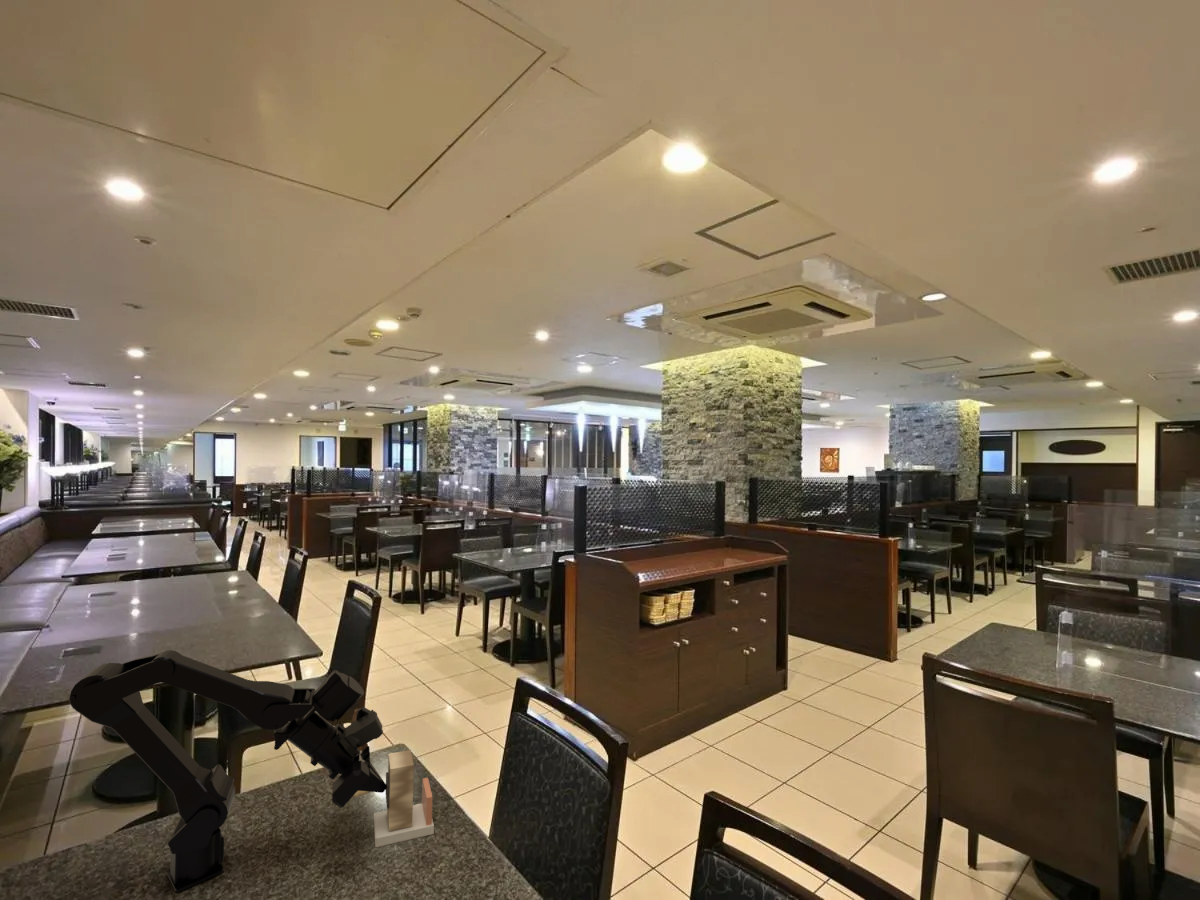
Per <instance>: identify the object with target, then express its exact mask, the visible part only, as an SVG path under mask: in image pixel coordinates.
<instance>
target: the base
mask: <svg viewBox="0 0 1200 900" xmlns="http://www.w3.org/2000/svg"><path fill="white" fill-rule="evenodd" d="M421 789H422V790H421V792H422V793H421V794H422V795H421V796H422V797H421V803H417V804H413V814H412V826H410V827H406V828H401V829H397V830H392V831H389V826H388V815H387V810H384V811H379V812H374V813H373V829H374V833H373V834H374V847H375V848H377V847H379V848H380V847H383V846H389V845H391V844H395V843H400V842H404V841H405V842H406V841H409V840H414V839H417V838H423V837H425V836H426V837H427V836H430V835H434V833H435V832H434V831H435V824H434V820H433V793H432V789H431V785H430V781H429V777H424V778H422V788H421Z"/></svg>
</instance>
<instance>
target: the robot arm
mask: <svg viewBox="0 0 1200 900" xmlns="http://www.w3.org/2000/svg"><path fill="white" fill-rule="evenodd" d="M159 683H162V684H165V685H169V686H172V687H175V688H177V689H180V690H183V691H185V692H189V693H191V694H195V695H196V696H200V697H203V698H205V699H208V700H211V701H214V702H217V703H219V704H222V705H224V706H228V707H230V708H232V709H234V710H236V711H238V713H239V714H241V716H242V717H243V718H244V719H246V721H247V720H248V722H250V723H252V724H253V725H255V726H258V727H259V728H261V729H263V730H265V731H268V732H269V731H271V732H272V731H273V737H274V746H273V749H274V750H275V751H277V750H279V749H280V748H281V747H282V746H283V745H284V744H285V743H286V742H287V741H288V742H289V743H290V744H291V745H293V746H295V747H296V748H297V749H299V750H300V751H301V752H303V753H304V754H306V756H308V757H309V758H310V765H312V766H314V767H317V765H320V766H321V767H322V768H324V769H326V771H328V778H330V779H331V780H334V779H335V778H336V777H337V776H338V775H339V776H338V777H337V778H336V779H335V781H334V782H333V783H332V793H331V795H332V796H331V803H333V804H334V805H335V806H337V807H338V808H340V809H342V808H344V807H345V806H346V804H348V803H349V801H350V800H351V799H352V798H354V797H353V795H354V794H355V793H356V792H357V791H369V792H368V793H370V792H372V793H380V794H381V793H384V792H386V789H387V786H386V781H384V780H383V778H382V776H381V775H380V774H379V772H378V771H377V770H376V768H375V767H374V765H373V763H372V762H371V752H370V751H371V750H370V746H369V745H367V744H368V743H369V742H372V741H373V740H377V739H379V738H380V737H382V735H383V734H384V731H383V724H382V721H381V719H380V718H379V716H378V713H377V712H376V710H374V709H371V710H370V709H368V708H367V707H364V706H362V707H360V708H358V709H359V710H357V711H356V721H355V722H354V721H352V720H351V721H352V724H351V723H350V724H349V725H348V726H344V725H342V724H338V723H336V725H333V724H332V723H330V721H331V722H335V720H336V721H337V720H340V719H342V717H343V716H344V715H345V714H346V713H347V712H348V711H349V710H350V709H351V708H352V707H353V706H354V705H356V703H357V702H358V701H359V700H360V699H361V697H363V696H364V694H365V691H364V689H363V687H362V686H361V685H360V684H359V682H358V681H357V680H356V679H355V678H354V677H352V676H350V675H347V674H345V673H343V672H340V671H338V670H337V669H334V670H333V671H332V672H330V674H329V675H328V677H326V680H324V681H323V683H321V685H319V687H318V688H316V689H315V688H314V687H313V688H310V687H309V688H305V687H304V688H302V687H301V688H299V687H298V688H296V687H295V688H293V687H292V686H290V685H289V684H285V683H280V682H275V681H270V680H252V679H246V678H244V677H241V676H239V675H236V674H233V673H230V672H227V671H225V670H223V669H220V668H218V667H215V666H211V665H210V664H209V665H208V664H206V663H204V662H201V661H199V660H196V659H193V658H190V657H188V656H186V655H182V654H181V653H180V652H179V651H176V650H172V649H170V650H164V651H162V652H160V653H157V654H153V655H149V656H144V657H143V656H142V657H138V658H135V659H132V660H129V661H125V662H123V663H119V662H117V663H116V662H108V663H103V664H100V665H98V666H97V667H95V668H94V669H93V670H91V671H90V672H89V673H88V674H86V675H85V676H84V677H82V678H81V679H80V680H79V681H78V682H77V683H76V684H74V685H73V688H71V691H70V695H69V698H68V702H69V705H70V707H71V708H72V709H73V710H74V711H76V712H77V713H78V714H80V715H82V716H83V717H84V718H85V719H87V720H89V721H90V722H92V723H94V724H97V725H101V726H104V727H106V728H110V729H112V730H113V731H114V732H115V733H116V734H117V735H118V736H119V737H120V738H121V739H122V741H123V742H125V744H126V745H127V746H128V747H129V748H130V749H131V750H132V751H133V752H134V753H135V754H136V755H137V757H138V758H140V760H141V761H142V762H143V763H144V764H145V765H146V766H147V767H148V768H149V769H150V771H152V772H153V773H154V775H155V776H156V777H158V778H159V780H160V781H161V782H162V783H163V784H164V785H165V786H166V787H167V788H168V790H170V791H171V793H172V795H173V796H174V801H175V804H176V805H175V806H176V808H177V812H178V815H179V816H180V817H179V820H178V822H177V824H176V825H175V828H174V830H173V832H172V835H171V836H170V838H169V840H168V842H167V845H168V847H169V850H170V863H169V864H170V866H169V867H170V868H169V869H168V870H167V871H166V875H167V877H168V879H169V881H170V883H171V886H172V887H173V889H174V892H175V893H179V892H182V891H185V890H187V889H189V888H191V887H193V886H195V885H198V884H200V883H202V882H204V881H206V880H208V879H211V878H213V877H215V876H218V875H221V874H222V873H223V872H224V867H223V865H222V863H223V862H224V859H225V858H224V857H225V836H224V835H223V833H221V832H222V830H221V827H222V826H223V825H224V824H225V822H226V820H227V819H228V816H229V813H230V810H231V807H232V805H233V801H234V800H235V799H234V797H235V795H236V788H235V785H234V781H235V778H234V777H232V776H229V775H228V774H227V773H226V771H225V770H224V768H223V766H222V765H221V764H219V763H218V764H216V766H214V768H212V769H209V768H206V767H203V766H201V765H200V764H198V762H197V761H196V760H195V759H194V758H193V757H192V756H191V754H190V753H189V752H188V751H187V750H186V749H185V748H184V747H183V745H182V744H180V742H179V741H178V740H177V739H176V738H175V737H174V736H173V735H172V734H171V733H170V732H169V731H168V730H167V728H166V727H164V725H163V724H162V722H160V721H159V719H157V718H156V717H155V715H154V714H153V713H152V712H151V711H150V710H149V709H148V708H147V707H146V706H145V703H144V701H143V698H142V695H141V691H142V690H144V689H147V688H149V687H151V686H154V685H156V684H159ZM365 745H367V746H366V747H365V748H364V749H363V750H362V751H361V750H359V749H358V748H359V747H361V746H362V747H363V746H365Z"/></svg>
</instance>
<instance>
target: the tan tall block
mask: <svg viewBox="0 0 1200 900" xmlns="http://www.w3.org/2000/svg"><path fill="white" fill-rule="evenodd" d="M387 763H388V764H387V765H388V766H387V768H388V769H387V772H386V773H385V784H386V786H387V789H386V790H385V800H386V811H387V815H388V826H389V831H392V830H397V829H401V828H406V827H410V826H412V814H413V805H414V797H413V796H414V760H413V755H412V751H411V749H408V750H401V751H397V752H391V753H388V762H387Z"/></svg>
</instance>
